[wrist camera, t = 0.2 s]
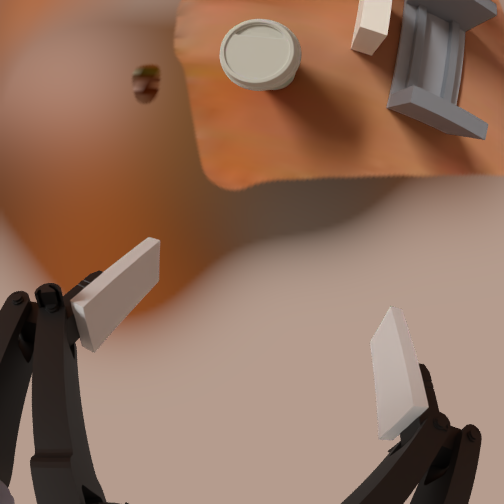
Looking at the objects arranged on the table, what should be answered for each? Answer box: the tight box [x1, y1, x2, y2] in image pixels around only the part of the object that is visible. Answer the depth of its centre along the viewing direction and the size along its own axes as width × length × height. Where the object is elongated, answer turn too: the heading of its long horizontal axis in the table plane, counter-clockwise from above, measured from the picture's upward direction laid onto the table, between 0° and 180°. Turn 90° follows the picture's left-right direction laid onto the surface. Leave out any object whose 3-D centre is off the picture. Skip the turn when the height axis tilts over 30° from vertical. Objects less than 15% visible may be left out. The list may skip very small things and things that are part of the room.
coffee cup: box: [220, 19, 301, 91], centre depth 28 cm, size 9×8×12 cm
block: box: [351, 0, 392, 56], centre depth 22 cm, size 10×3×10 cm, turn 169°
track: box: [387, 0, 497, 140], centre depth 22 cm, size 20×10×11 cm, turn 169°
